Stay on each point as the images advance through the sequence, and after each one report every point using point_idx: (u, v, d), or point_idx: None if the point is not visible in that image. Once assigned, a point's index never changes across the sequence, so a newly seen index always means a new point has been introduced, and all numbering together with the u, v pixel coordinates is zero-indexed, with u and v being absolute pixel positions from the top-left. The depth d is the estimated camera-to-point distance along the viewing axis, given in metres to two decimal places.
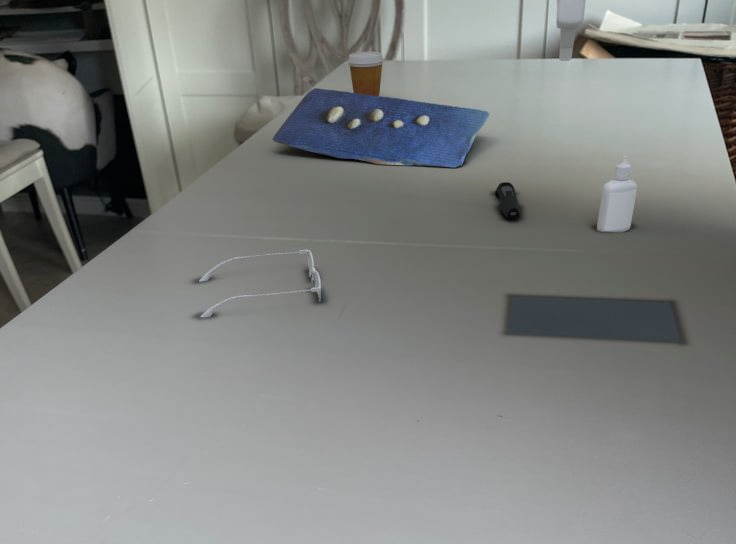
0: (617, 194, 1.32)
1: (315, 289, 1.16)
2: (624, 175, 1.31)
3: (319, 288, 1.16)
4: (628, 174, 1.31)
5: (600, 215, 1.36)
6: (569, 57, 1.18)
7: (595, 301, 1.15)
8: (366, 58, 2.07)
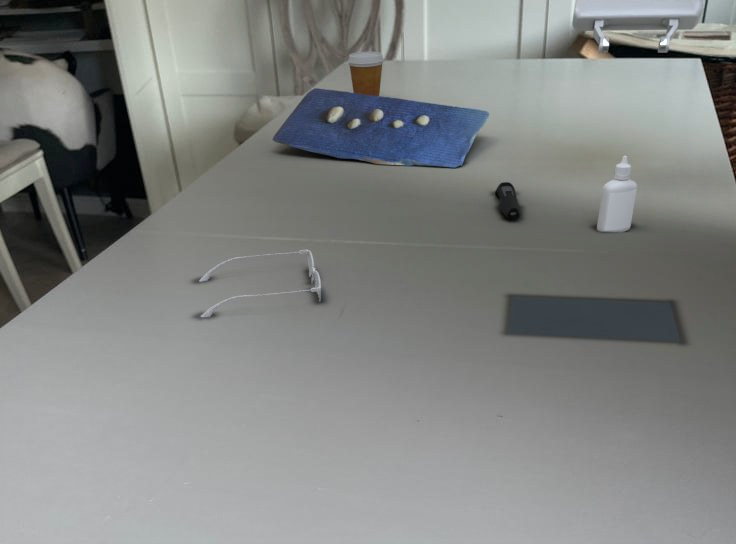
0: (617, 194, 1.32)
1: (315, 289, 1.16)
2: (624, 174, 1.31)
3: (319, 288, 1.16)
4: (628, 174, 1.31)
5: (600, 215, 1.36)
6: (599, 45, 1.32)
7: (595, 301, 1.15)
8: (366, 58, 2.07)
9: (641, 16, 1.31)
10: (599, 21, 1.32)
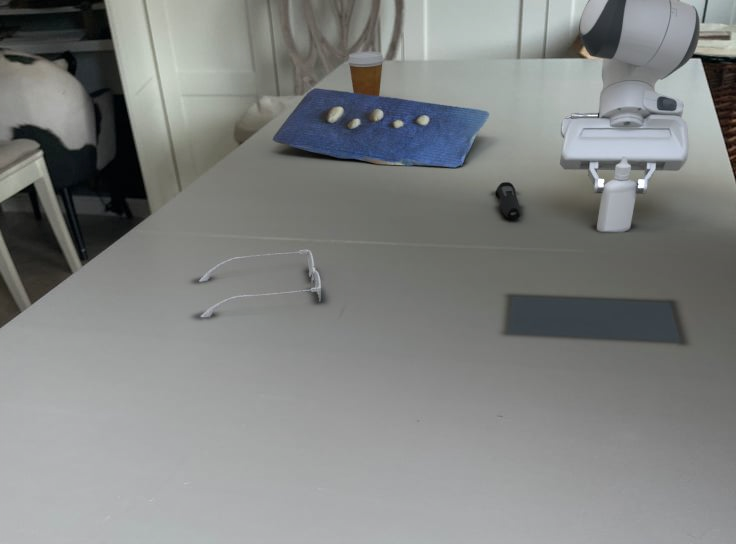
0: (617, 194, 1.32)
1: (315, 289, 1.16)
2: (624, 174, 1.31)
3: (319, 288, 1.16)
4: (628, 174, 1.31)
5: (599, 215, 1.36)
6: (594, 187, 1.34)
7: (595, 301, 1.15)
8: (366, 58, 2.07)
9: (627, 159, 1.32)
10: (594, 163, 1.34)
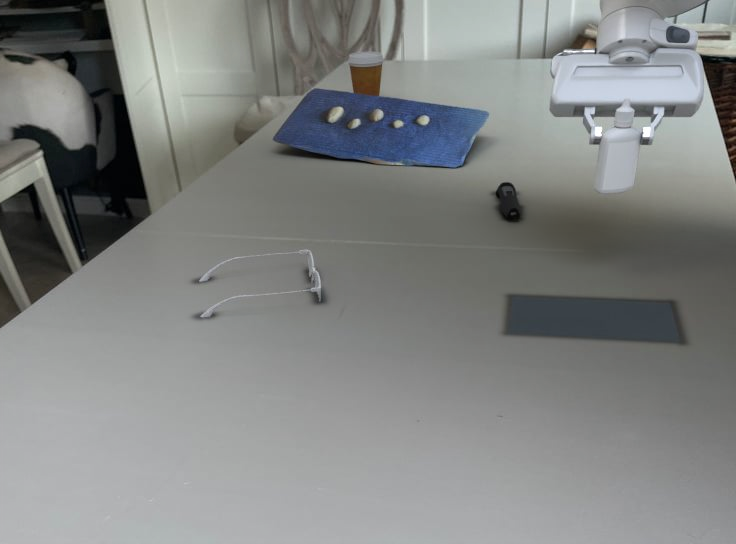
0: (617, 145, 1.10)
1: (315, 289, 1.16)
2: (626, 121, 1.09)
3: (319, 288, 1.16)
4: (631, 120, 1.09)
5: (597, 171, 1.14)
6: (590, 137, 1.11)
7: (595, 301, 1.15)
8: (366, 58, 2.07)
9: (630, 103, 1.10)
10: (590, 108, 1.11)
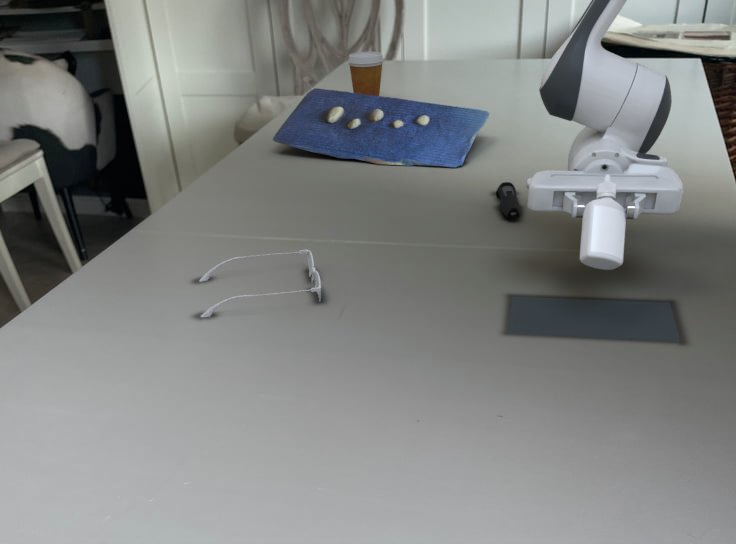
0: (603, 208, 1.04)
1: (315, 289, 1.16)
2: (609, 191, 1.05)
3: (319, 288, 1.16)
4: (614, 192, 1.05)
5: (582, 238, 1.05)
6: (573, 206, 1.06)
7: (595, 301, 1.15)
8: (366, 58, 2.07)
9: None
10: (570, 192, 1.09)
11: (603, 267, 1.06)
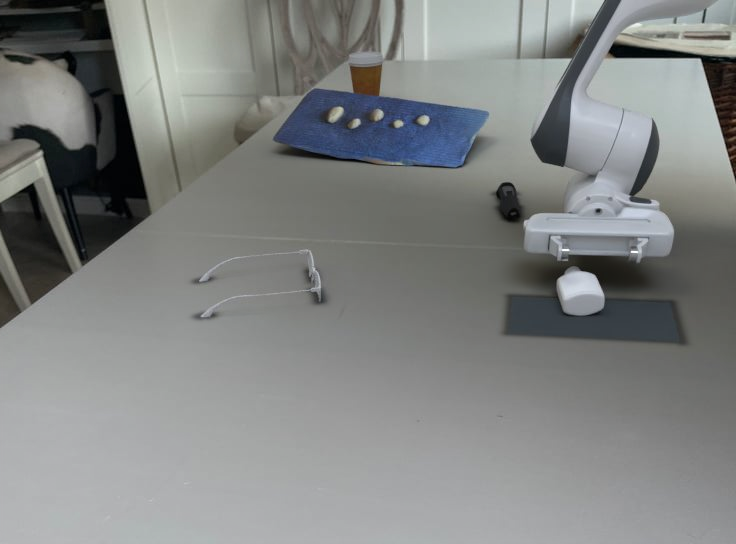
0: (567, 276, 1.15)
1: (315, 289, 1.16)
2: (572, 270, 1.17)
3: (319, 288, 1.16)
4: (577, 269, 1.17)
5: (560, 300, 1.13)
6: (558, 250, 1.10)
7: None
8: (366, 58, 2.07)
9: (604, 232, 1.11)
10: (555, 235, 1.13)
11: (590, 308, 1.11)
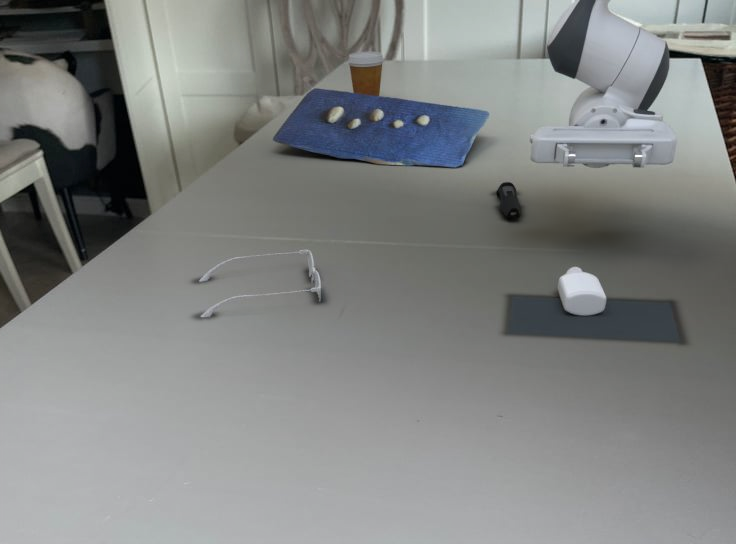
0: (570, 275, 1.15)
1: (315, 289, 1.16)
2: (574, 270, 1.17)
3: (319, 288, 1.16)
4: (579, 270, 1.17)
5: (561, 298, 1.13)
6: (564, 155, 1.13)
7: None
8: (366, 58, 2.07)
9: (609, 140, 1.15)
10: (562, 144, 1.16)
11: (591, 309, 1.11)
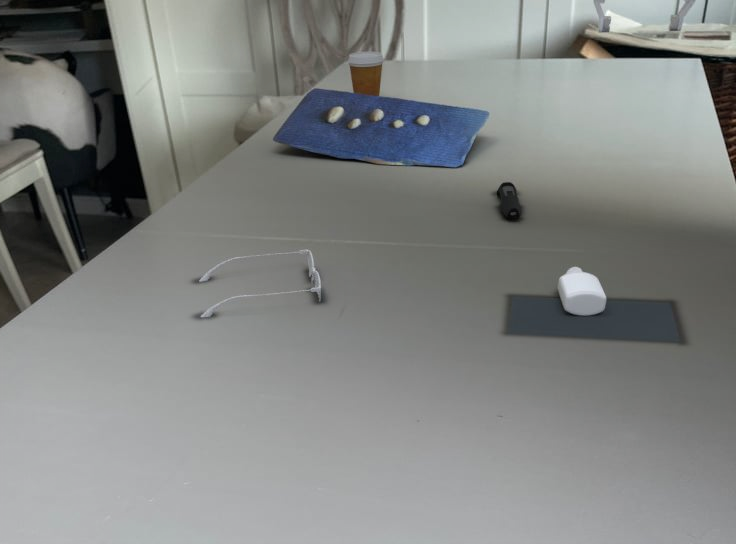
0: (570, 275, 1.15)
1: (315, 289, 1.16)
2: (574, 270, 1.17)
3: (319, 288, 1.16)
4: (579, 270, 1.17)
5: (561, 298, 1.13)
6: (598, 29, 1.12)
7: None
8: (366, 58, 2.07)
9: None
10: None
11: (591, 309, 1.11)
